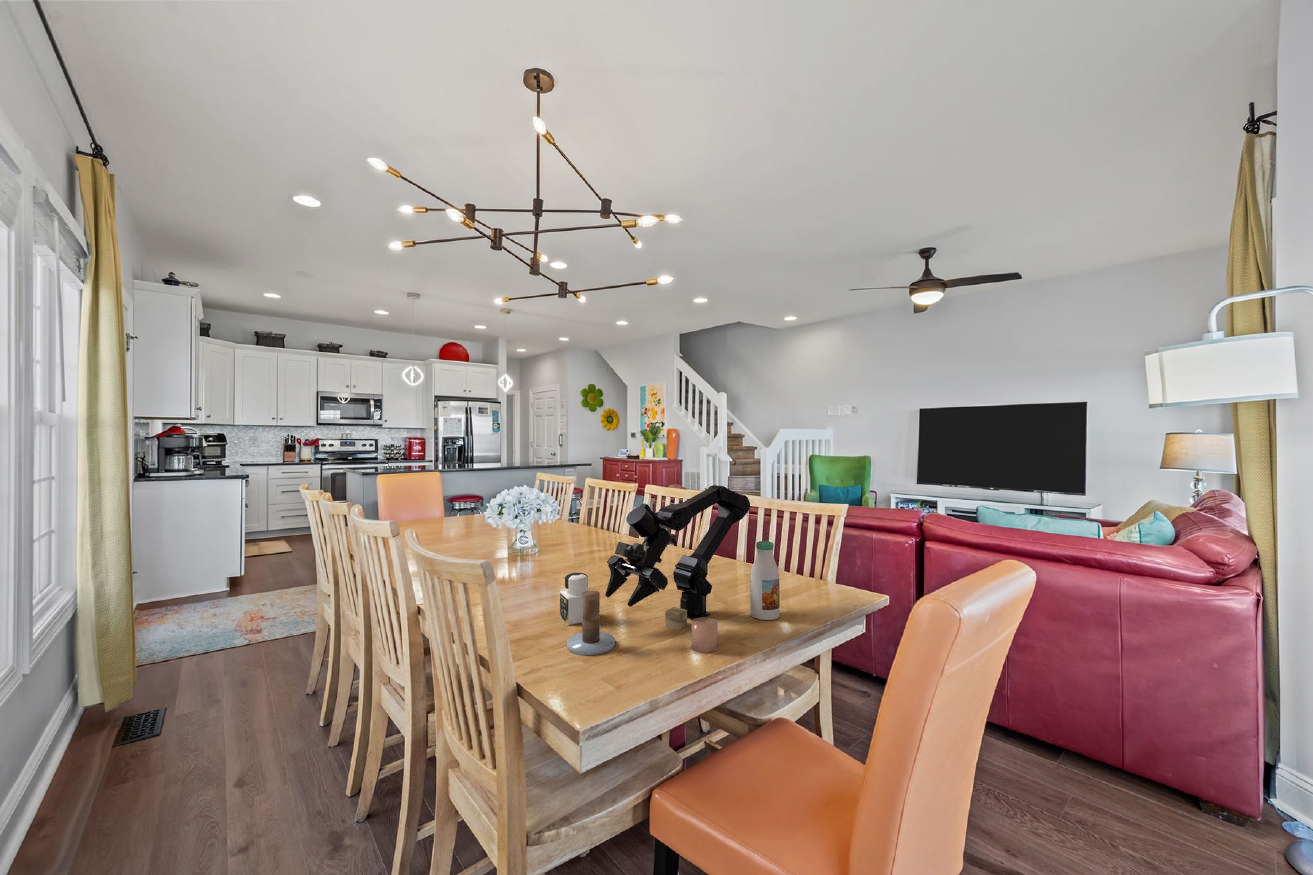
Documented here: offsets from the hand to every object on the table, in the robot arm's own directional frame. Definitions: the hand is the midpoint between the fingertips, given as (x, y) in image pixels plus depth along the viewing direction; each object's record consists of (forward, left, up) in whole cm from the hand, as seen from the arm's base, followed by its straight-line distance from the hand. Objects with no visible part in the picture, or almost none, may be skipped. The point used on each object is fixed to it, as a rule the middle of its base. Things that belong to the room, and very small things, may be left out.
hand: (617, 600), depth 127 cm
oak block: (-16, +2, -9) cm, 19 cm away
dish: (+8, +1, -9) cm, 12 cm away
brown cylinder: (+7, +1, -8) cm, 11 cm away
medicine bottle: (+3, -17, -9) cm, 20 cm away
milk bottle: (-40, +10, -9) cm, 43 cm away
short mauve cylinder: (-13, +17, -9) cm, 23 cm away
